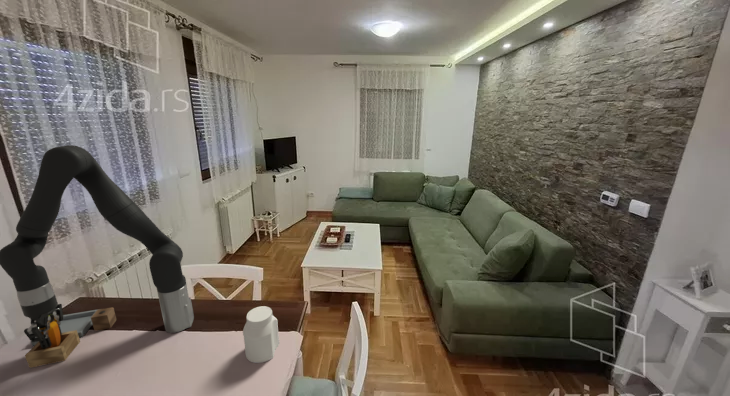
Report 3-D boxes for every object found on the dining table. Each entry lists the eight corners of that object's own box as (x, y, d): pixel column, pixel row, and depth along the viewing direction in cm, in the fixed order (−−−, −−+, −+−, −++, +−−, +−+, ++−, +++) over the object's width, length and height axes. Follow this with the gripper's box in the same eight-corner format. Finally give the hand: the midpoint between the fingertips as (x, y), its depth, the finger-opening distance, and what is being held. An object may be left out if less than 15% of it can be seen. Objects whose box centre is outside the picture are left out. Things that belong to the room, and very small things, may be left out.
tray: (101, 313, 118) (100, 309, 118) (82, 337, 106) (81, 332, 105) (57, 321, 114) (56, 316, 113) (32, 346, 101) (30, 341, 100)
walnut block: (116, 319, 115) (113, 306, 113) (110, 328, 110) (107, 314, 109) (101, 322, 113) (97, 309, 112) (94, 331, 109) (90, 317, 107)
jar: (256, 337, 107) (252, 302, 103) (281, 338, 106) (279, 303, 102) (242, 362, 95) (237, 324, 91) (270, 364, 95) (266, 326, 91)
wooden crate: (80, 341, 103) (76, 330, 102) (65, 360, 95) (61, 348, 94) (47, 347, 100) (43, 336, 99) (29, 367, 92) (24, 355, 91)
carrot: (52, 359, 95) (38, 320, 91) (41, 356, 96) (27, 318, 92) (69, 347, 100) (57, 310, 96) (58, 345, 100) (46, 308, 96)
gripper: (37, 308, 87) (53, 354, 91) (66, 284, 100) (78, 325, 104) (3, 314, 84) (21, 360, 89) (37, 288, 97) (52, 329, 102)
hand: (52, 341), depth 97 cm, fingers closed on carrot, 4 cm apart
